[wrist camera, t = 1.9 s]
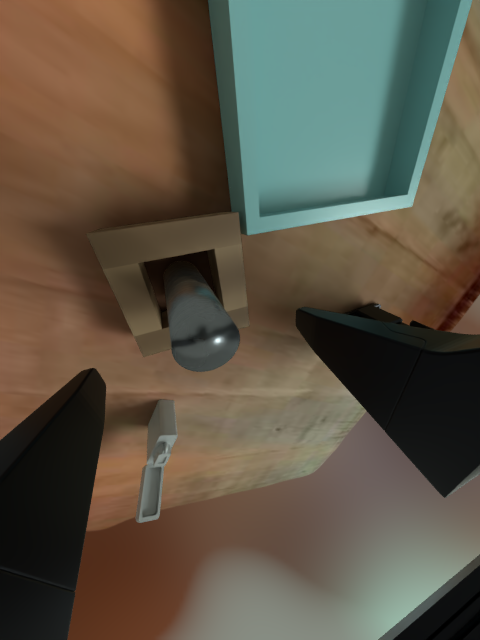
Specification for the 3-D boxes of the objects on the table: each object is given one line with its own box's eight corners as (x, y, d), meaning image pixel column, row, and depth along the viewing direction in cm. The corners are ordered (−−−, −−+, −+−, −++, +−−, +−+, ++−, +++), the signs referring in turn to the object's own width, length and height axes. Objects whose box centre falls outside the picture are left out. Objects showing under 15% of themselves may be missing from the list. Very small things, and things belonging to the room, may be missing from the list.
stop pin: (203, 291, 18) (242, 359, 10) (169, 299, 17) (181, 380, 9) (196, 257, 17) (235, 305, 8) (158, 264, 16) (161, 325, 8)
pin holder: (238, 311, 20) (249, 325, 18) (145, 337, 18) (143, 357, 16) (225, 211, 16) (238, 212, 13) (98, 229, 14) (86, 234, 11)
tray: (381, 206, 21) (411, 206, 18) (233, 231, 17) (247, 235, 14) (463, -159, 11) (548, -262, 9) (174, -298, 7) (184, -547, 5)
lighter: (159, 399, 22) (160, 480, 16) (174, 400, 23) (182, 477, 16) (140, 443, 24) (134, 530, 18) (155, 442, 25) (155, 525, 18)
